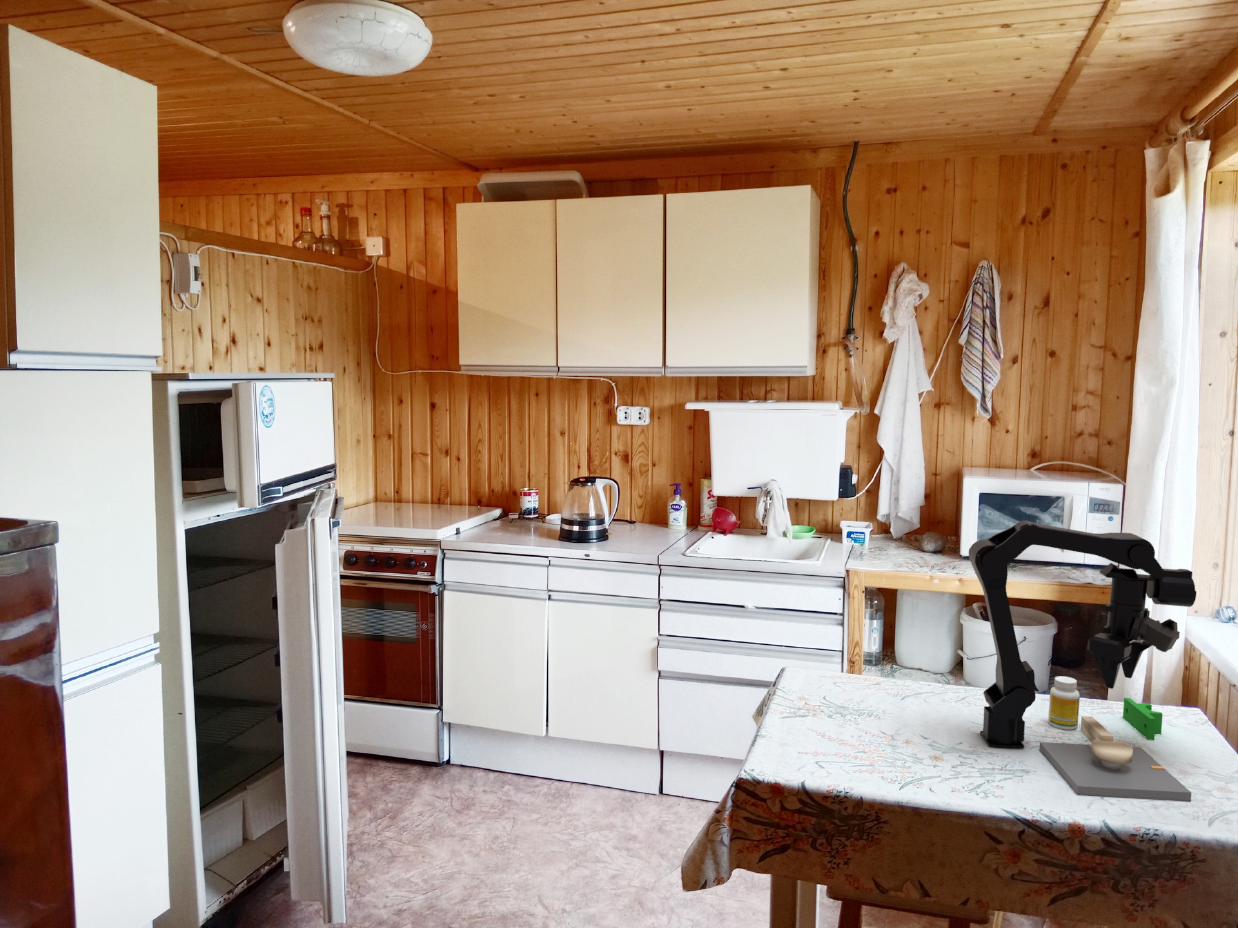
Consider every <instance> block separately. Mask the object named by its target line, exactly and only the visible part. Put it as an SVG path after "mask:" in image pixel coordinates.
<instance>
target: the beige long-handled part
mask: <svg viewBox="0 0 1238 928" xmlns="http://www.w3.org/2000/svg"><path fill="white" fill-rule="evenodd" d="M1080 732H1081V733H1082V734H1083V736H1085V738H1086V739H1088V741H1090V743H1091V744H1092V746H1091V754H1092V756H1094V757H1095V758H1097V759H1099V760H1101V761H1104V762H1107V763H1112V764H1121V765H1123V764H1129V763H1131V762H1132V756H1133V748H1132V747H1133V746H1131V744H1130V745H1129V743H1126V742H1124V741H1120V740H1116V739H1114V735H1113V734H1112V733H1111V732H1110V731H1109V730H1108V729H1107V728H1105V726H1103V725H1102V724H1101V723H1100V722H1099V721H1098V720H1097V719H1096V718H1095V717H1094V716H1085V715H1083V716H1082V715H1081V720H1080Z"/></svg>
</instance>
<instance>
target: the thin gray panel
mask: <svg viewBox="0 0 1238 928" xmlns="http://www.w3.org/2000/svg"><path fill="white" fill-rule="evenodd" d="M1091 746H1092V743H1088V744H1087V743H1085V744H1083V743H1066V742H1065V743H1064V742H1044V741H1039V748H1038V749H1039V751H1040V752H1041V753H1042V754H1043V756H1044V757H1045V758H1046V759H1047V760H1048V761H1049V763H1050V764H1051V766H1053V767H1054V769H1055V770H1056V771H1057V773H1058V774H1059V775H1061V777H1062V778H1063V779H1064V781H1065V783H1067V784H1068V786H1069V787H1070V788H1071V789H1072V790H1073V792H1074V793H1075V794H1076V795H1079V796H1095V797H1097V796H1098V797H1111V798H1114V797H1115V798H1131V799H1146V800H1149V799H1150V800H1164V801H1166V800H1168V801H1180V802H1181V801H1183V802H1191V801H1192V792H1191V791H1190V790H1189V789H1188V788H1187V787H1186V786H1185V785H1184V784H1183V783H1181V782H1180V781H1179V780H1178V779H1177V777H1175V776H1174V775H1172V773H1170V771H1168V770H1166V769H1165V768H1164V767H1163V766H1162V765H1161V764H1160V763H1159V762H1158V761H1156V759H1154V758H1153V757H1152V756H1151V755H1150V754H1148V752H1147V751H1145V749H1143V747H1140V746H1131V747H1132V748H1133V756H1132V762H1131V763H1129V764H1123V765H1121V764H1112V763H1107V762H1104V761H1101V760H1099V759H1097V758H1095V757H1094V756H1092V754H1091Z"/></svg>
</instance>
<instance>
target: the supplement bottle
mask: <svg viewBox="0 0 1238 928" xmlns="http://www.w3.org/2000/svg"><path fill="white" fill-rule="evenodd" d="M1053 684H1054V686H1052V687H1051V689H1050V690H1049V703H1048V704H1049V705H1048V720H1047V721H1048V724H1050V725H1051V726H1052V727H1055V728H1057V729H1060V730H1066V731H1068V730H1075V729H1077V728H1078V725H1079V713H1080V712H1079V711H1080V710H1079V709H1080V696H1081V695H1080V692H1079V691H1078V690H1077V687H1078V681H1077V680H1076V679H1075V678H1073V677H1070V676H1061V675H1059V676H1055V677H1054V683H1053Z"/></svg>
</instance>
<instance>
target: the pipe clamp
mask: <svg viewBox="0 0 1238 928" xmlns="http://www.w3.org/2000/svg"><path fill="white" fill-rule="evenodd" d="M1152 707H1153V705H1152V704H1151V703H1140V702H1136V701H1134V700H1133V699H1132V698H1131V697H1123V709H1122V710H1123V713H1122V719H1123V720H1125V721H1126V722H1127V723H1130V724H1129V725H1131V726H1132V727H1133V728H1134V729H1135V728H1136V730H1138V733H1140V734H1141V735H1142V736H1143V737H1144V736H1145V737H1144V738H1145V739H1146V740H1148V741H1155V738H1156V737H1155V736H1156V734H1161V735H1162V727H1163V726H1162V725H1163V716H1164V715H1163V713H1162V712H1160V711H1154V710H1152Z"/></svg>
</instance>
